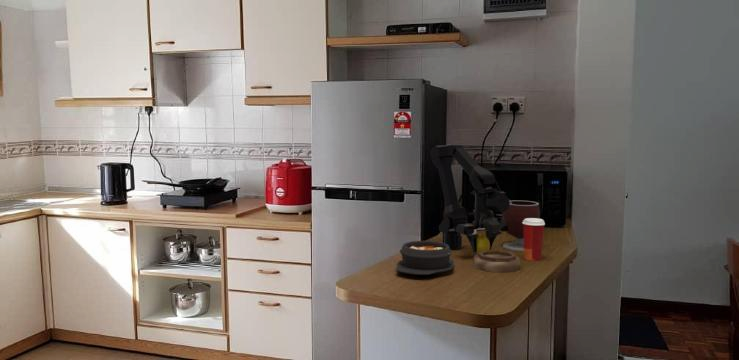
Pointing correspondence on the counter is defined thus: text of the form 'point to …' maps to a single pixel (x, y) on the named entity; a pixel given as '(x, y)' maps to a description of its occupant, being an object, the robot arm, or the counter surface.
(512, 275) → the counter surface
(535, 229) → the paper cup
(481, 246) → the lemon
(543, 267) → the counter surface
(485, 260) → the stand
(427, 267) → the casserole
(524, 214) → the mate gourd
